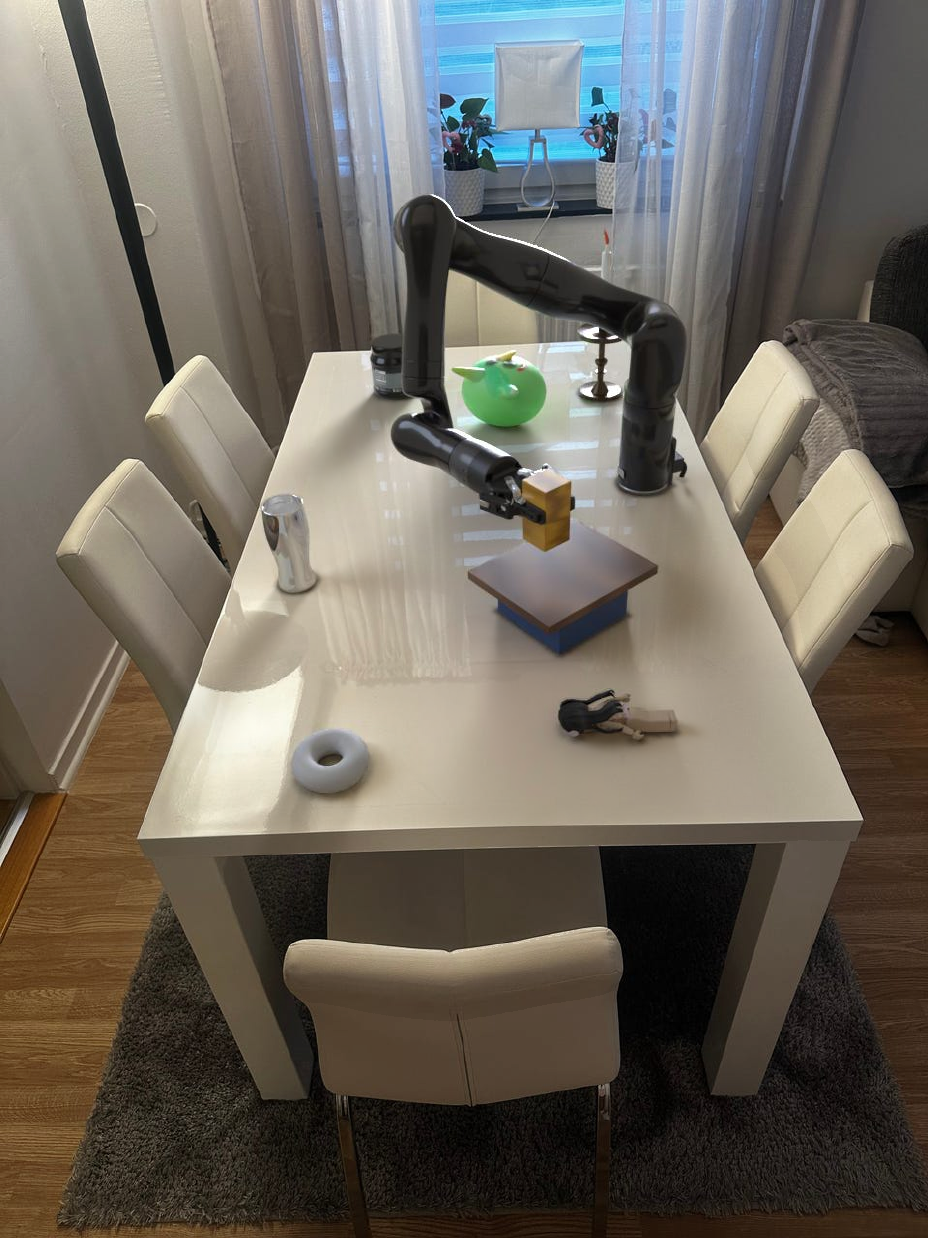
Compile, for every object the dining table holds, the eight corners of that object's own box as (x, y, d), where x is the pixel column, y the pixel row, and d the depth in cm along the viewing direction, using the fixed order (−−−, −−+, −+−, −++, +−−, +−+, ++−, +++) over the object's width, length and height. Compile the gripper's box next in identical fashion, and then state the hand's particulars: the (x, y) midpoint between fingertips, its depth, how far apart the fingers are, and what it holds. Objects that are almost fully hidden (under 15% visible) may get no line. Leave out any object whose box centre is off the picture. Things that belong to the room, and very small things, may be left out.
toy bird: (558, 415, 192) (560, 348, 183) (520, 447, 181) (519, 378, 172) (487, 399, 200) (485, 335, 191) (446, 429, 189) (442, 362, 180)
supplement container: (419, 380, 210) (415, 330, 203) (419, 399, 202) (415, 348, 195) (375, 383, 210) (369, 333, 203) (372, 402, 202) (366, 351, 195)
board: (573, 525, 144) (574, 517, 144) (657, 573, 133) (658, 565, 132) (467, 579, 134) (467, 570, 133) (549, 635, 123) (549, 627, 122)
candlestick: (565, 394, 200) (569, 230, 179) (594, 379, 206) (601, 218, 185) (605, 407, 194) (614, 239, 173) (633, 390, 200) (646, 226, 179)
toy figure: (659, 701, 122) (552, 710, 120) (667, 670, 117) (556, 680, 116) (674, 743, 117) (562, 753, 115) (683, 713, 112) (567, 723, 111)
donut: (282, 794, 112) (358, 803, 110) (276, 776, 110) (354, 784, 108) (308, 737, 119) (380, 745, 118) (304, 719, 117) (376, 726, 115)
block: (547, 526, 136) (547, 468, 129) (569, 539, 132) (571, 480, 126) (522, 538, 133) (521, 479, 127) (544, 552, 130) (545, 493, 124)
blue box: (563, 576, 146) (564, 540, 141) (626, 615, 137) (629, 578, 132) (497, 610, 139) (496, 574, 135) (559, 654, 130) (560, 616, 126)
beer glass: (325, 573, 149) (311, 495, 140) (306, 597, 144) (291, 518, 135) (288, 567, 151) (272, 490, 142) (268, 590, 146) (250, 512, 137)
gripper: (446, 462, 133) (521, 506, 122) (519, 432, 139) (596, 471, 128) (449, 506, 137) (521, 552, 126) (519, 474, 144) (594, 516, 133)
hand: (558, 511), depth 127 cm, fingers closed on block, 5 cm apart
